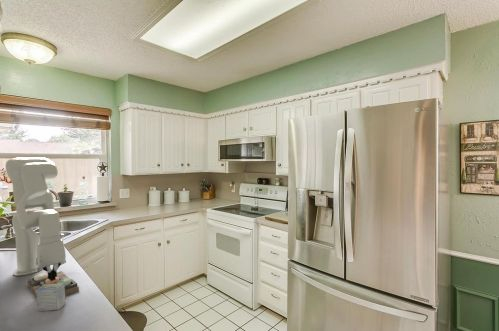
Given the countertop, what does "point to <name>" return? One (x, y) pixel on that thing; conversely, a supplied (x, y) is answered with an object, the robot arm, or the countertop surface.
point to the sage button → (65, 281)
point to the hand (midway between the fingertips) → (52, 279)
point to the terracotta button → (51, 281)
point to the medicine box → (50, 297)
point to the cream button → (40, 277)
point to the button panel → (61, 275)
